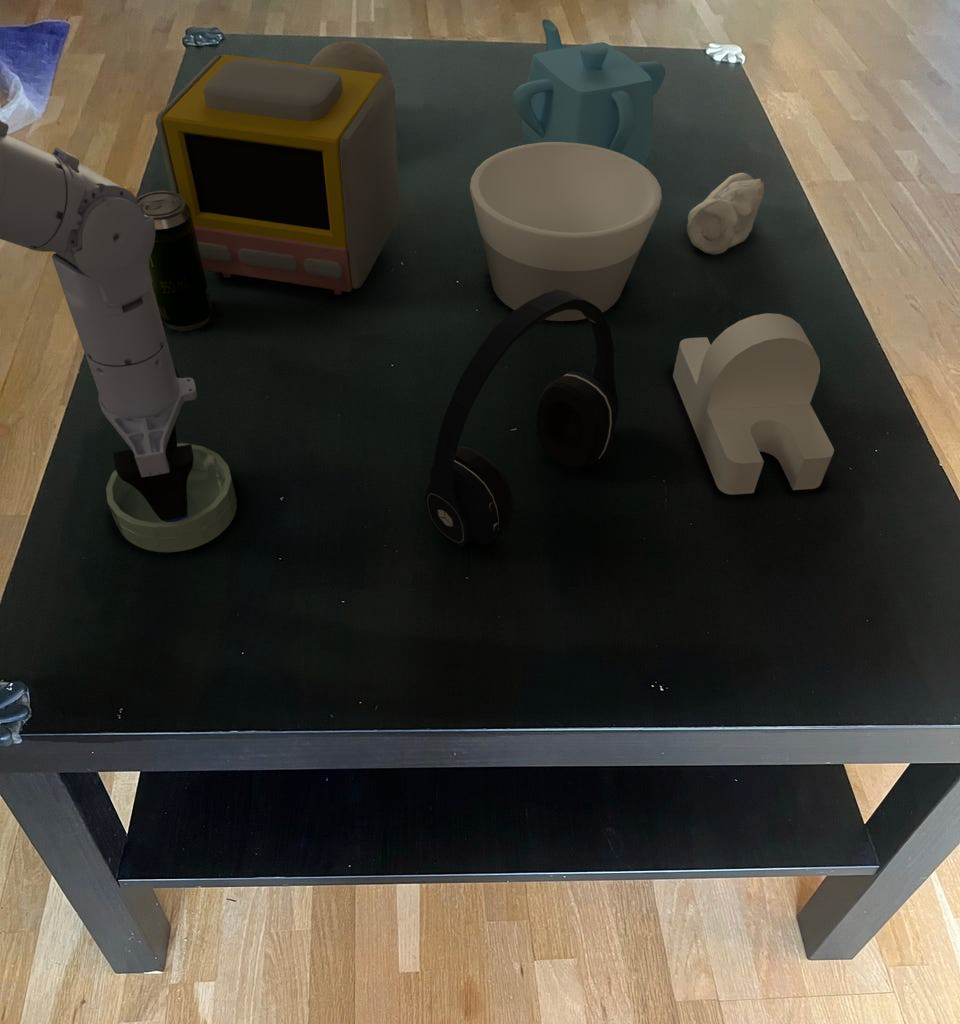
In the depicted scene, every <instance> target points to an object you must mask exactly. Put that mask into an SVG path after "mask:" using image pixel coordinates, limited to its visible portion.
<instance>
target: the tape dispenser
mask: <svg viewBox="0 0 960 1024" xmlns="http://www.w3.org/2000/svg"><path fill="white" fill-rule="evenodd" d="M820 374H821V364H820V357H819V356H818V355H817V352H816V351H815V349H814V347H813V345H812V344H811V341H810V340H809V338H808V337H807V334H806V333H805V331H804V329H803V328H802V326H801V324H800V323H799V322H797V321H796V320H794V319H793V318H792V317H790V316H787V315H784V314H781V313H772V312H771V313H769V312H767V313H760V314H755V315H751V316H748V317H746V318H743V319H740V320H738V321H736V322H735V323H734V324H732V325H730V326H729V327H726V329H724V330H723V331H722V332H721V333H720V334H719V335H718V336H717V337H716V338H715V339H714V340H713V341H712V343H711V342H710V341H709V338H708V337H707V336H705V337H704V336H702V337H687V338H684V339H682V340H680V342H679V346H678V349H677V354H676V359H675V363H674V368H673V372H672V378H673V382H674V383H675V386H676V388H677V390H678V393H679V396H680V399H681V400H682V401H681V402H682V403H683V406H684V409H685V411H686V414H687V416H688V419H689V421H690V423H691V425H692V429H693V431H694V433H695V436H696V438H697V440H698V442H699V445H700V448H701V451H702V453H703V455H704V458H705V461H706V463H707V465H708V468H709V470H710V473H711V476H712V478H713V481H714V483H715V486H716V487H717V489H718V490H719V491H720V492H722V493H723V494H726V495H748V494H754V493H755V490H756V487H757V484H758V480H759V478H760V476H761V472H762V469H763V467H764V463H765V461H764V459H763V456H762V454H761V453H760V452H762V453H766V454H769V455H771V456H772V457H774V458H775V459H777V461H778V462H779V464H780V466H781V468H782V471H783V473H784V475H785V477H786V479H787V481H788V483H789V486H790V487H791V490H792V491H800V490H801V491H802V490H814V489H817V488H819V487H820V486H821V485H822V483H823V480H824V477H825V476H826V473H827V470H828V467H829V465H830V462H831V460H832V457H833V455H834V452H835V448H834V446H833V445H832V442H831V440H830V439H829V437H828V435H827V433H826V431H825V429H824V428H823V426H822V424H821V421H820V420H819V418H818V416H817V414H816V412H815V410H814V408H813V407H812V404H811V402H812V400H813V397H814V394H815V391H816V388H817V385H818V383H819V379H820Z"/></svg>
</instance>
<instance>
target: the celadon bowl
mask: <svg viewBox="0 0 960 1024" xmlns="http://www.w3.org/2000/svg"><path fill="white" fill-rule="evenodd" d="M190 444H191V443H185V442H177V447H178V446H184V445H190ZM191 445H192V451H193V456H194V460H193V467H192V469H191V471H190V473H189V476H188V479H187V504H188V507H187V510H188V518H185V519H182V520H179V521H176V522H165V521H162V520H160V518H159V517H158V516H157V515H156V514H155V512H154V511H153V509H152V508H151V506H150V505H149V503H148V502H147V501H146V499H145V498H144V497H143V495H142V494H141V493H140V492H139V491H138V490H137V489H136V488H134V487H133V486H132V485H130V484H129V483H127V482H125V481H123V480H122V479H121V478H120V477H119V475H118V473H117V471H116V469H114V471H113V472H111V475H110V477H109V480H108V482H107V485H106V487H105V491H106V502H107V505H108V507H109V510H110V513H111V515H112V518H113V520H114V523H115V525H116V526H117V528H118V530H119V532H120V533H121V535H122V537H124V538H125V539H126V541H128V542H130V543H131V544H132V545H134V546H136V547H138V548H141V549H143V550H146V551H149V552H157V553H178V552H185V551H188V550H192V549H195V548H198V547H200V546H203V545H205V544H208V543H209V542H211V541H213V540H215V539H216V538H217V537H218V536H220V535H221V534H222V533H223V532H225V531H226V530H227V528H228V527H229V526H230V524H231V523H232V521H233V519H234V518H235V516H236V512H237V506H238V501H237V495H236V491H235V486H234V481H233V478H232V473H231V469H230V466H229V464H228V463H227V462H226V461H225V460H224V459H223V457H222V456H221V455H220V454H219V453H218V452H216V451H213V450H211V449H209V448H208V447H205V446H203V445H197V444H191Z"/></svg>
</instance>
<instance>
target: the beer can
mask: <svg viewBox="0 0 960 1024" xmlns="http://www.w3.org/2000/svg"><path fill="white" fill-rule="evenodd" d="M136 198H137V199H138V201H137V202H138V203H139V204H141V205H142V207H143V209H144V212H145V214H146V215H147V216H148V217H149V218H153V219H154V222H155V242H154V247H153V250H152V253H151V255H150V259H149V270H150V274H151V278H152V287H153V290H154V294H155V298H156V302H157V305H158V309H159V313H160V317H161V320H162V323H164V325H165V326H166V327H167V328H169V329H171V330H174V331H178V332H188V331H189V332H190V331H194V330H197V329H200V328H202V327H203V326H205V325H207V324H208V323H209V321H210V320H211V316H212V312H213V306H212V300H211V297H210V292H209V288H208V283H207V278H206V275H205V270H204V269H203V265H202V260H201V256H200V251H199V247H198V242H197V238H196V233H195V229H194V224H193V220H192V215H191V211H190V208H189V207H188V206H187V204H186V200H185V198H184V197H183V196H182V195H180V194H178V193H176V192H172V191H171V190H157V191H156V190H153V191H150V192H146V193H143V194H142V195H139V196H138V197H136Z"/></svg>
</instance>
